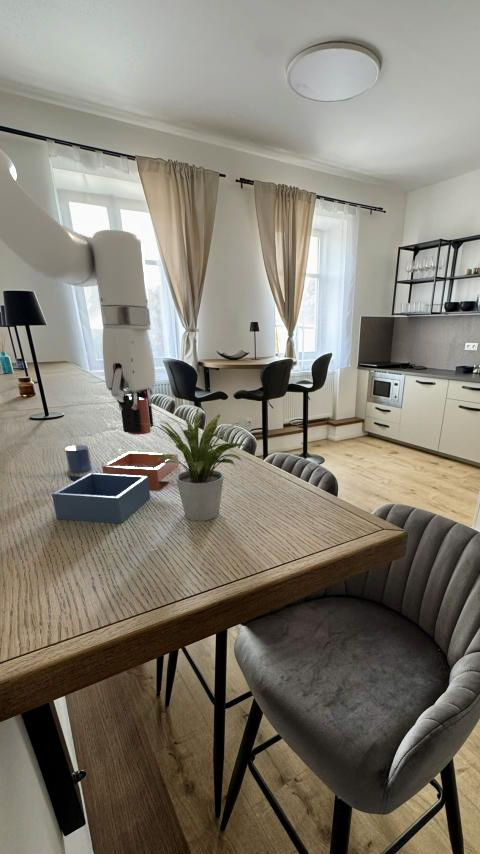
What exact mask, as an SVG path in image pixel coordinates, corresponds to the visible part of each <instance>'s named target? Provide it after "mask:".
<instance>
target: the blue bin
mask: <svg viewBox="0 0 480 854" xmlns="http://www.w3.org/2000/svg"><path fill="white" fill-rule="evenodd" d="M150 494H151V493H150V490H149V482H148V476H133V475H116V474H103V473H97V472H89V473H88V474H86V475H84V476H83V477H82V478H80V479H78V480H76V481H72V482H71V483H69V484H67V485H66V486H63V487H62V488H59V489H58V490H57V491H54V492H53V493H51V498H52V502H53V508H54V513H55V517H56V520H67V521H83V522H97V523H110V524H123V523H124V522H125V521H127V519H128V518H130V517H131V516H132V515H133V514H134V513H135V512H136V511H138V510H139V509H140V508H141V507H142V506H144V504H146V503H147V502H148V501H150V499H151V495H150Z"/></svg>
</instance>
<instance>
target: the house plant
mask: <svg viewBox="0 0 480 854" xmlns="http://www.w3.org/2000/svg"><path fill="white" fill-rule="evenodd" d="M199 410H200V406H199V407H198V408H197V409H196V411H195V413H194V419H193V425H192V423H191V422H190V421H189V420H188V419H187V418H185V424H186V425H187V429H183V426H182V425H181V424H180V423H179V422H178V421H177V420H175V419H174V418H171V417H166V418H167V419H170V420H172V421H174V422H176V423H177V424H178V426H179V428H180V429H181V430H180V432H182V433H183V435H184V437H185V439H186V441H187V444H186V443H184V442H183V440H182V438H181V436H180V435H179V434H178V433H177V431H176V430H175V429H173V428H172V426H171V425H170V424H169V423H168V422H165V421H164V420H161V422H162V423H164V424H165V425H162V424H161V423H159V425H160V426H161V427H159V426H157V425H155V424H153V427H156V428H158V429H160V430H161V431H163V432H164V433H165V434H166V435H168V437H169V438H170V440H172V441H173V442H174V444H175V445H174V446H175V447H176V448H177V449H178V450H179V452H181V453H182V454H183V457H184V460H185V461H183V462H181V461H180V460H179V459H178V460H177V459H176V458H175V457H173V456H170V455H165V454H166V453H163V454H164V455H161V456H160V457H159V458H158V460H165V459H173V460H177V461H178V462H177V461H165V462H163V463H162V464H164V463H172V462H174V463H178V465H182V467H183V468H184V470H185V471H182V472H179V473H178V474H177V475H176V476H175V480H176V485H177V488H178V489H177V490H178V493H179V497H180V500H181V504H182V508H183V512H184V516H185V517H186V519H188V520H191V521H196V522H203V521H209V520H213V519H216V518H217V517H218V516H219V514H220V508H221V507H220V506H221V500H222V493H223V492H222V491H223V484H224V478H225V477H224V473H222V472H221V471H219V470H215V469H216V468H217V467H218V466H220V464H221V463H222V464H223V463H224V464H230V465H234V466H236V463H234V461H233V460H232V459H229V458H234V459H237V460H239V461H240V462H242V459H241V457H240V456H239V455H237V454H233V453H226V454H224V453H225V452H226V451H228V450H231V449H234V448H236V447H239V446H241V447H243V446H244V447H245V446H247V444H245V443H238V442H230V443H229V442H227V443H226V442H223V443H218V444H217V442H218V441H219V440H220V439H221V438H225V436H224V435H225V434H226V433H227V432H230V429H231V428H233V427H234V426H236V425H238V424H241V423H242V421H240V422H237V423H233V424H232V425H230V426H229V427H227V428H226V429H225V430H223V431H220V432H216V430H217V429H218V421H219V420H220V417H221V413H218V414H217V415H216V416H214V417H213V418H212V420H210V421H209V422H208V424H207V425H206V427H205V428H204V430H203V432H202V435H201V437H200V441H199V431H200V430H199V429H200V427H199V426H200V425H199ZM147 425H151V424H147ZM168 427H169V428H168ZM219 434H220V435H219ZM216 435H218V436H216ZM215 436H216V437H215ZM214 437H215V438H214ZM188 446H189V447H188ZM228 457H229V458H228ZM158 460H157V461H158ZM184 463H186V465H187V466H186V465H185V464H184Z"/></svg>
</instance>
